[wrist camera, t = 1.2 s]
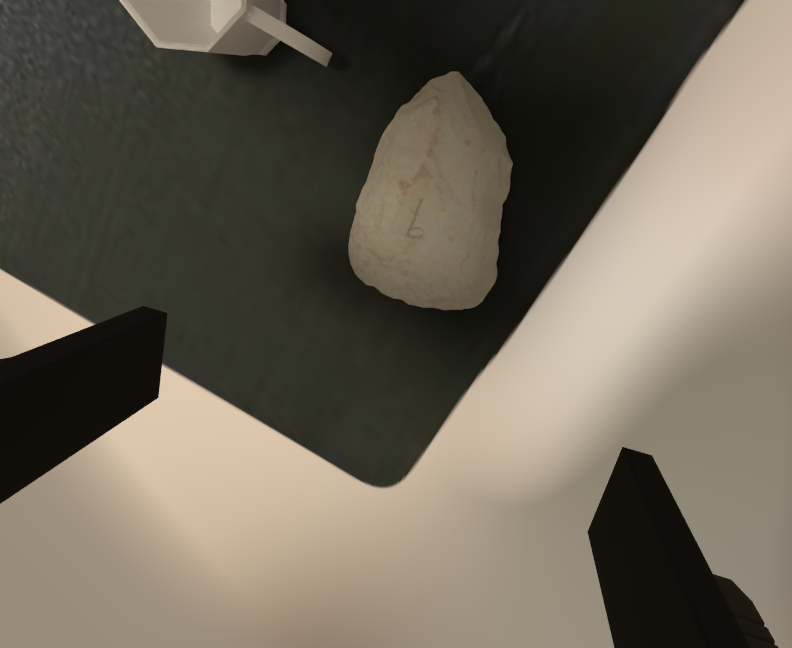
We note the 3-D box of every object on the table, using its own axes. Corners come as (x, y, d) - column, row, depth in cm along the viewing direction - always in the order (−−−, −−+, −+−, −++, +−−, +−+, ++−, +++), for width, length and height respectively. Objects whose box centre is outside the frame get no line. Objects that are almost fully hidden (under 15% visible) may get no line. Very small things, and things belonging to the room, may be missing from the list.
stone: (347, 274, 37) (323, 290, 32) (402, 61, 32) (385, 43, 28) (480, 318, 36) (476, 342, 31) (556, 105, 32) (565, 95, 27)
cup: (226, -73, 32) (140, -147, 25) (373, 12, 32) (333, -37, 25) (183, 46, 35) (94, 11, 27) (321, 125, 34) (270, 113, 27)
